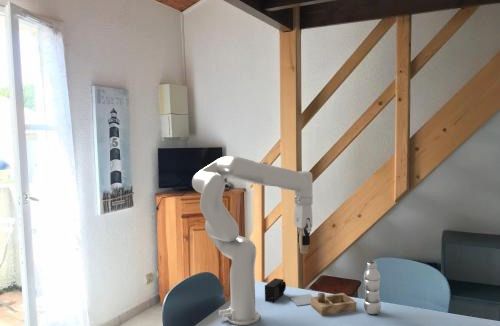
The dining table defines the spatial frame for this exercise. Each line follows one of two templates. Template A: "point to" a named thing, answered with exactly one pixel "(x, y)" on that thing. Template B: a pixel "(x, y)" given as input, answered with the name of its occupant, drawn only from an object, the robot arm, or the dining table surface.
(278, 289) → the digital camera
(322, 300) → the body
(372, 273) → the plastic bottle
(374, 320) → the dining table surface
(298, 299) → the mat
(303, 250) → the handle
